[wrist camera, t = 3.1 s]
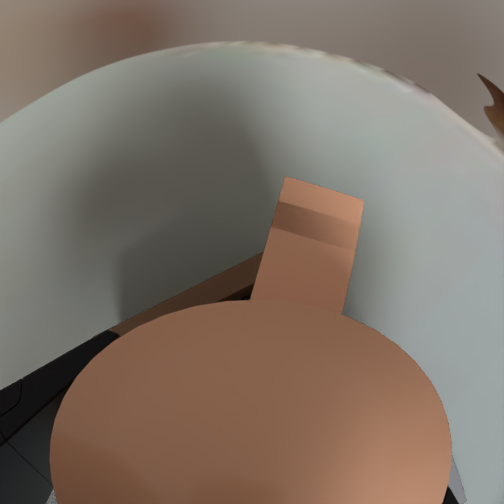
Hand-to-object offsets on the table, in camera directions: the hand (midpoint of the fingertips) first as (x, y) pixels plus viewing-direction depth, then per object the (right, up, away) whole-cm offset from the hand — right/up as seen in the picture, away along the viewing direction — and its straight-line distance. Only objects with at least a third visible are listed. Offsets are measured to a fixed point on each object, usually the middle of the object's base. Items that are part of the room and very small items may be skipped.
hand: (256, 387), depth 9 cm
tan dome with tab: (0, -1, +7) cm, 7 cm away
